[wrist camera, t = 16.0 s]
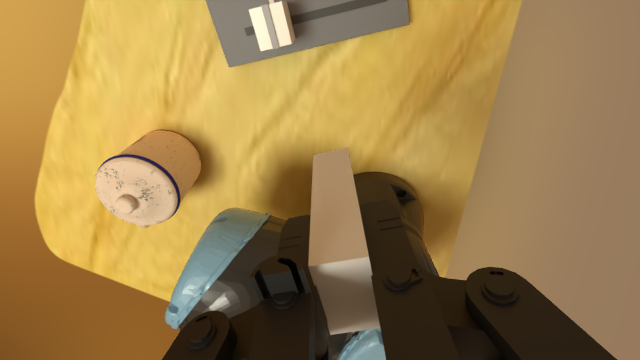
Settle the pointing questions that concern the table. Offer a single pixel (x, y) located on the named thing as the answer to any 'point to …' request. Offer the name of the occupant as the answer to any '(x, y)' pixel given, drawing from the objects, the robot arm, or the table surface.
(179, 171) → the teacup with lid
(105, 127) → the table surface
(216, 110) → the table surface
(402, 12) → the mixer board
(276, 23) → the fader
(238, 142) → the table surface
